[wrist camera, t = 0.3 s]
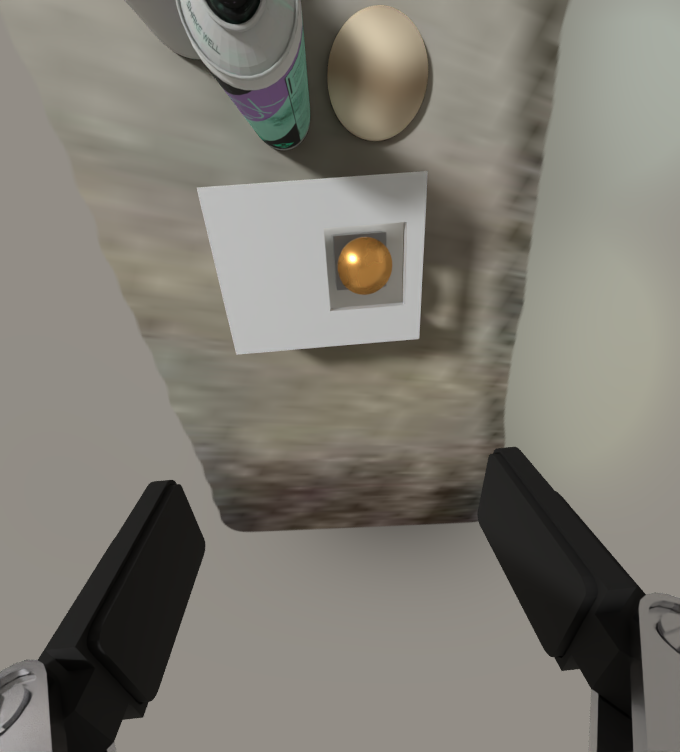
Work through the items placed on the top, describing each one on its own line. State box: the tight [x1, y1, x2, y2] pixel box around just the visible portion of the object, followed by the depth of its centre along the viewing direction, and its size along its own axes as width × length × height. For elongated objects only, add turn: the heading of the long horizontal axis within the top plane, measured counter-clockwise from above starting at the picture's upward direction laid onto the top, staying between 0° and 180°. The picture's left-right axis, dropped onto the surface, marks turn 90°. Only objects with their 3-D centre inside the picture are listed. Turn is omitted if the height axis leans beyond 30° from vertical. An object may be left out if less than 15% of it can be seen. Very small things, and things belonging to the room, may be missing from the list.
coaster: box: [327, 5, 428, 141], centre depth 28 cm, size 9×9×1 cm
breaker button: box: [337, 237, 392, 295], centre depth 30 cm, size 5×5×4 cm
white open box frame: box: [197, 171, 428, 354], centre depth 31 cm, size 14×18×8 cm
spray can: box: [176, 0, 310, 150], centre depth 20 cm, size 6×6×20 cm
